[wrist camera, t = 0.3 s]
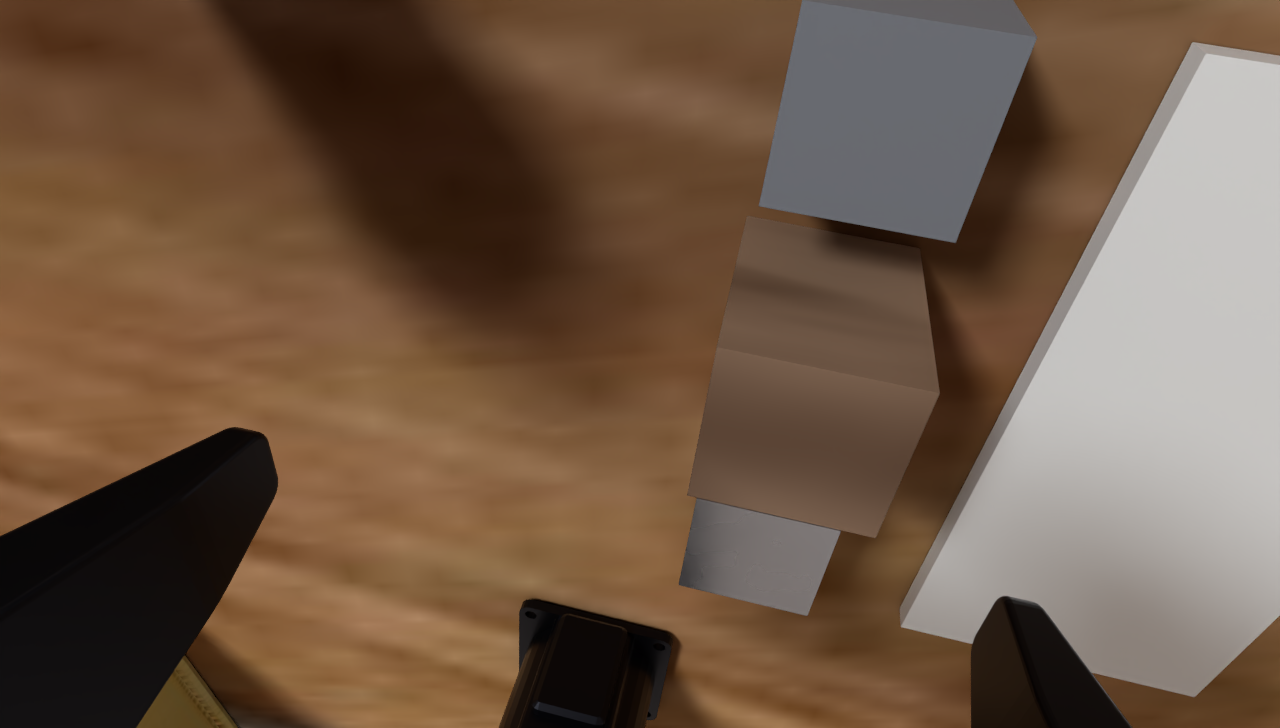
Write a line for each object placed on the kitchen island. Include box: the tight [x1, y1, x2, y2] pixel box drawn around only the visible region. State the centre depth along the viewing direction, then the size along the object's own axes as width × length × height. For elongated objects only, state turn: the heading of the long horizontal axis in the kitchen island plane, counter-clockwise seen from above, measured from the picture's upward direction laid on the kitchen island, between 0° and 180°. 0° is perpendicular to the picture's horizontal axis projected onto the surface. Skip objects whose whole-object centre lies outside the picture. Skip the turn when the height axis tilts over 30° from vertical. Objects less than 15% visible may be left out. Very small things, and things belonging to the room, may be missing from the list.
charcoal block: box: [759, 0, 1037, 243], centre depth 16 cm, size 4×4×4 cm
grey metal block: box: [679, 498, 841, 616], centre depth 24 cm, size 4×4×4 cm
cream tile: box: [900, 42, 1280, 697], centre depth 22 cm, size 20×10×1 cm, turn 174°
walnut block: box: [687, 216, 940, 538], centre depth 20 cm, size 4×4×6 cm
